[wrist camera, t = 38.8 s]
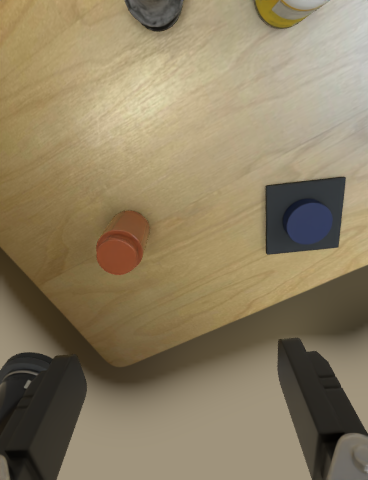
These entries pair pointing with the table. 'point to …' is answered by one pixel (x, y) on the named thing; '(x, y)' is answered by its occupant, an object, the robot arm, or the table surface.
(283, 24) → the pill bottle
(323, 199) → the coaster
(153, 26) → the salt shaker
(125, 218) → the jar
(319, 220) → the jar lid
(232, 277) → the table surface
